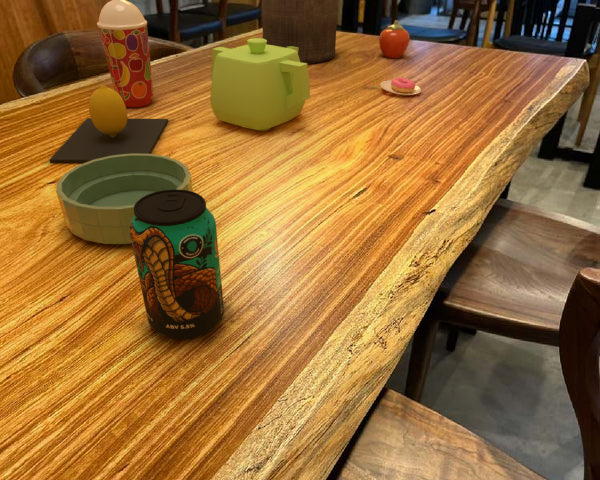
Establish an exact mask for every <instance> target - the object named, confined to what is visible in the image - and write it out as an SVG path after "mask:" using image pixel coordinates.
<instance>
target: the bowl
mask: <svg viewBox="0 0 600 480" xmlns="http://www.w3.org/2000/svg"><path fill="white" fill-rule="evenodd" d="M172 189H177V190H187V191H192V192H194V189H193V181H192V175H191V172H190V169H189V167H188V166H187V165H185V163H183V162H182V161H180V160H178V159H176V158H172V157H169V156H166V155H161V154H153V153H151V154H122V155H113V156H108V157H103V158H99V159H95V160H91V161H89V162H86V163H80V164H78V165H76V166H74V167H73V168H71V169H69V170H68V171H67V172H65V173H64V174H63V175H62V176H61V177H60V178H59V180H57V182H56V190H55V192H56V195H57V199H58V203H59V206H60V210H61V213H62V216H63V220H64V223H65V226H66V227H67V229H69V231H70V233H71V234H72V235H74V236H76V237H78V238H80V239H82V240H84V241H88V242H92V243H97V244H101V245H102V244H104V245H128V244H132V242H131V237H130V231H129V227H130V224H131V221H132V219H133V217H134V215H135V214H134V209H133V208H134V205H135V204H136V202H137V201H138V200H140V199H141V198H142V197H144V196H146V195H148V194H151V193H154V192H158V191H163V190H172Z"/></svg>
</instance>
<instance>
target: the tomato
mask: <svg viewBox="0 0 600 480" xmlns="http://www.w3.org/2000/svg"><path fill="white" fill-rule="evenodd" d="M410 36H411V35H410V34H409V32H408V30H406V29H405V28H404V26H403V25H401V24H399V21H398V20H397V19H395V20H394V22H393V24H390V25H388V26H386V28H385V29H383V30H382V31H381V32H380V34H379V38H378V44H379V49H380V52H381V54H383V56H384V57H386V58H388V59H399V58H401V57H402V56H403V55H404V54H405V53H406V51H407V49H408V47H409V45H410V40H411V39H410Z"/></svg>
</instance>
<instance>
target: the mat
mask: <svg viewBox="0 0 600 480" xmlns="http://www.w3.org/2000/svg"><path fill="white" fill-rule="evenodd" d="M168 124H169V118H127V123H126V126H125V128H124V129H123V130H122V131H121V132H119V133H118V134H117V135H116V137H110V136H109V135H108V134H104V133H102V132H101V131H99V130H98V129H97V128H96V127H95V126H94V124H93V122H92V120H91V117H87V118H86V119H85V120H84V121H83V122H82V123H81V124H80V125H79V127H78V128H76V130H75V131H74V132H73V133H72V134H71V135H70V136H69V138H68V139H66V141H65V142H64V143H63V144H62V145H61V146H60V147H59V148H58V150H57V151H56V152H55V153H54V154H52V156H51V157H50V158H49V164H53V163H54V164H56V163H57V164H63V163H64V164H84V163H86V162H89V161H91V160H95V159H99V158H103V157H108V156H113V155H122V154H152V152H153V150H154V149H155V147H156V145H157V143H158V141H159V139H160V138H161V136H162V134H163V132H164V130H165V128H166V127H167V125H168Z"/></svg>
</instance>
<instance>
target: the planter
mask: <svg viewBox="0 0 600 480" xmlns="http://www.w3.org/2000/svg"><path fill="white" fill-rule="evenodd" d="M338 9H339V0H261V21H262V22H261V23H262V24H261V26H262V38H263V39H265V40H267V43H266V44H267V45H273V46H278V47H284V48H287V47H292V46H293V47H298V48H299V50H298V56H299V60H300V62H301V63H307V65H308V64H309V65H310V64H318V63H319V64H320V63H323V62H327V61H330V60H333V59H334V58H335V57H336V44H337V43H336V41H337V29H338V27H337V25H338V24H337V23H338Z"/></svg>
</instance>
